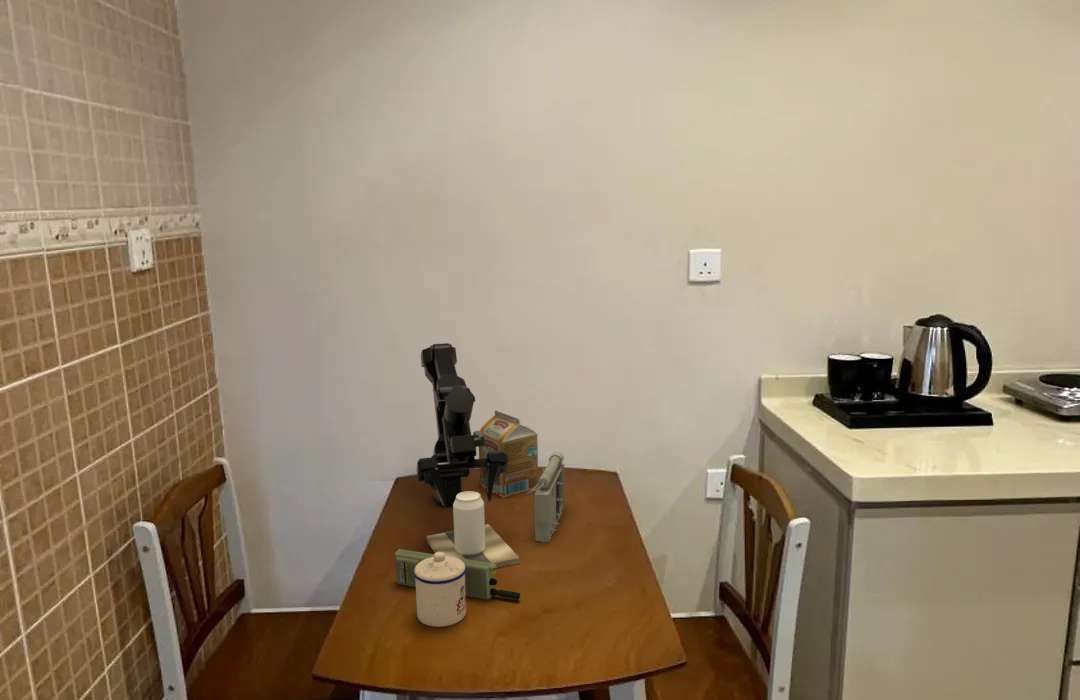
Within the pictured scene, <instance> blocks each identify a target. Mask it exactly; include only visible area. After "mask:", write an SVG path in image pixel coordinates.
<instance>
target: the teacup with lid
mask: <svg viewBox="0 0 1080 700" xmlns="http://www.w3.org/2000/svg"><path fill="white" fill-rule="evenodd" d="M465 572H466V567H465V564H464V563H463V562H462V561H461V560H460V559H458V558H455V557H451V556H445V554H444V553H443V552H436V553H435V552H434V557H430V558H427V559H425V560H423V561H421V562H419V563H418V564H417V565H416V567H415V569H414V576H415V581H416V587H415V596H416V597H415V598H416V600H415V601H416V613H417V614H416V616H417V619H418V621H419V622H421V624H423V625H426V626H429V627H434V628H435V627H436V628H443V627H448V626H452V625H455V624H457V623H459V622H460V621H462V620H463V619H464V618H465V616H466V614H467V596H466V590H465Z"/></svg>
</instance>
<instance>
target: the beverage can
mask: <svg viewBox="0 0 1080 700" xmlns="http://www.w3.org/2000/svg"><path fill="white" fill-rule="evenodd" d="M452 507H453V508H452V509H453V510H452V511H453V513H452V515H453V516H452V517H453V530H454V539H455V550H456V551H457V552H458V553H460V554H462V555H465V556H473V555H477V554H479V553H480V552H481V551H483V550H484V549H485V525H486V523H485V501H484V500H483V498H482V497H481V493H479V492H477V491H474V490H471V491H470V490H469V491H468V490H467V491H462V492H461V493H459V494H457V495H456V499H455V501H454V503H453V504H452Z"/></svg>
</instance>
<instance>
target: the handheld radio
mask: <svg viewBox="0 0 1080 700" xmlns="http://www.w3.org/2000/svg"><path fill="white" fill-rule="evenodd" d="M434 554H435V553H434ZM434 554H433V553H426V552H421V551H420V552H419V551H414V550H407V549H400V548H398V549H397V550H396V551H395V553H394V559H395V560H394V561H395V562H394V563H395V572H396V584H397V583H398V584H397V585H402V586H407V587H413V588H416V581H415V576H414V569H415V567H416V565H417V564H418V563H419V562H421V561H423V560H425V559H427V558H430V557H434ZM458 559H460V560H461V561H462V562H463V563H464V564H465V567H466V572H465V590H466V597H472V598H478V599H483V600H490V599H491V598H492V597H496V596H497V597H500V598H503V599H504V598H506V599H511V600H514V601H515V600H517V601H519V600H520V598H521V593H520V592H517V591H510V590H505V589H497V588H494V586H496V585H497V584H498V580H497V579H496V578H494V577H493V576H495V575H496V573H497V570H496V569H492V568H494V567H495V566H496V564H493V563H487V562H481V561H474V560H467V559H461V558H458Z"/></svg>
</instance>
